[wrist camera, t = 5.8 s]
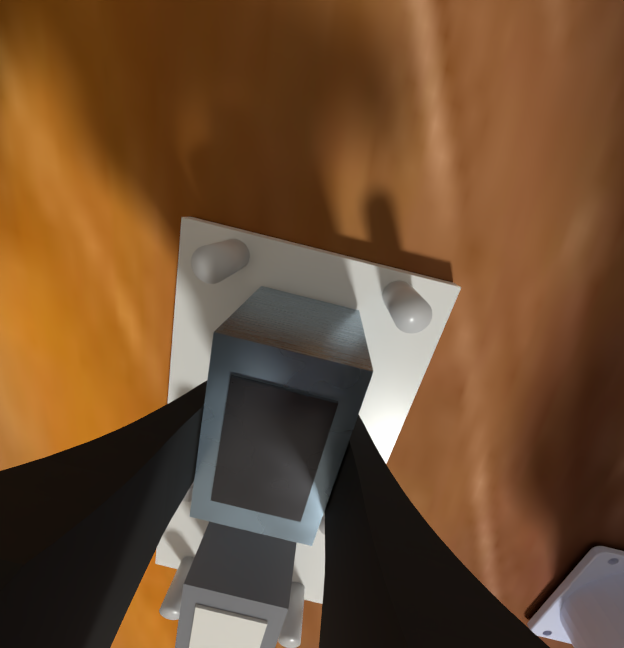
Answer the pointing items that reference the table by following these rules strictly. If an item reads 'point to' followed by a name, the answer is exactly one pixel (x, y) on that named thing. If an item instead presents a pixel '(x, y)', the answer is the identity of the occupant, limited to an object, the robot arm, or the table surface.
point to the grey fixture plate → (376, 413)
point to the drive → (279, 413)
